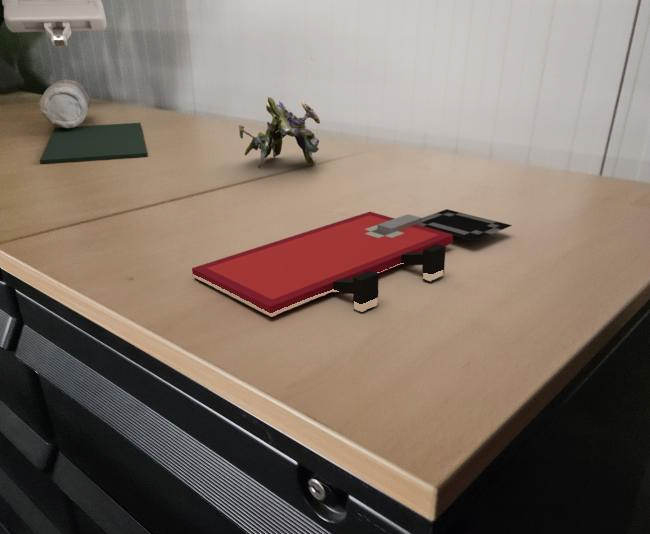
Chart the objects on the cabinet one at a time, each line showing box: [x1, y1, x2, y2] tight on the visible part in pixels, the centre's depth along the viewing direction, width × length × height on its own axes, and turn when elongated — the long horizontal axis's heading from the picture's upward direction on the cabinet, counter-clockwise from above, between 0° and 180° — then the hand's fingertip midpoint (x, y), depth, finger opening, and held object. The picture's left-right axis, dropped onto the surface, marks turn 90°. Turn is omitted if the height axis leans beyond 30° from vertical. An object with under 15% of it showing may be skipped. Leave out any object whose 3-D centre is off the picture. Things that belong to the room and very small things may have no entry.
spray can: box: [38, 78, 91, 128], centre depth 121 cm, size 8×8×20 cm
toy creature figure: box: [238, 96, 321, 169], centre depth 91 cm, size 11×11×12 cm
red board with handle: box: [191, 208, 513, 313], centre depth 58 cm, size 30×3×15 cm
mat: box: [39, 122, 149, 165], centre depth 109 cm, size 16×29×1 cm, turn 17°
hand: (59, 43), depth 130 cm, fingers closed
